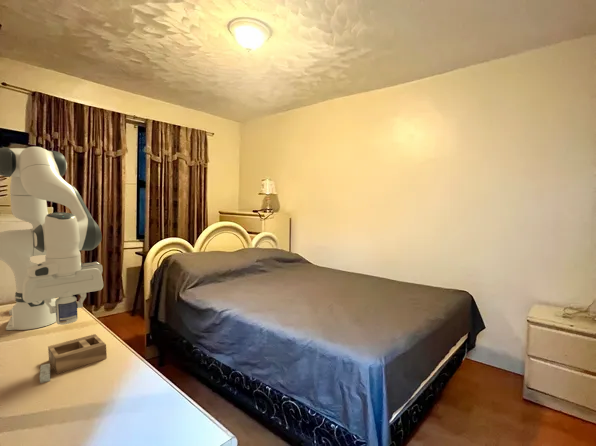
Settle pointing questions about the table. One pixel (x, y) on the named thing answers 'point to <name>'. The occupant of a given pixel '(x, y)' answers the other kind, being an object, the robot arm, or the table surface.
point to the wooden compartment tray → (76, 353)
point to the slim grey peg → (45, 373)
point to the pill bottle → (66, 309)
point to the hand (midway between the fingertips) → (66, 310)
